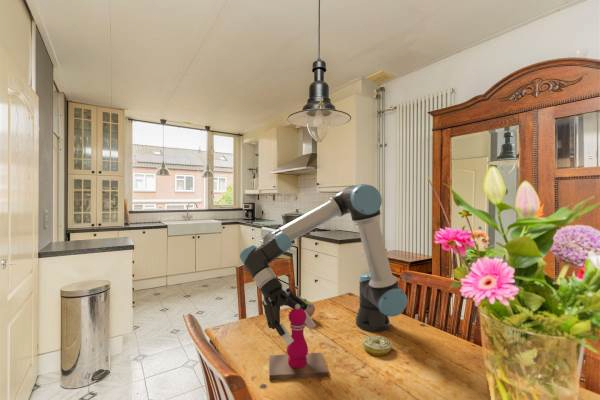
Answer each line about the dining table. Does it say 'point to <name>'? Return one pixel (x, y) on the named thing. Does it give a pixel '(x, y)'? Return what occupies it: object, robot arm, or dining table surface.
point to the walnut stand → (284, 371)
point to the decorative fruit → (309, 307)
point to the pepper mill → (297, 338)
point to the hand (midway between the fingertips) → (302, 335)
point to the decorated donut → (377, 345)
